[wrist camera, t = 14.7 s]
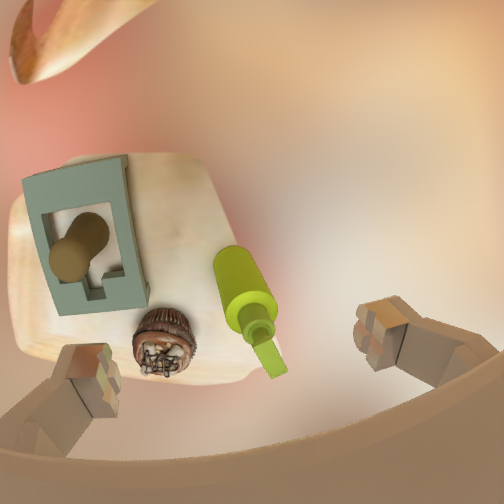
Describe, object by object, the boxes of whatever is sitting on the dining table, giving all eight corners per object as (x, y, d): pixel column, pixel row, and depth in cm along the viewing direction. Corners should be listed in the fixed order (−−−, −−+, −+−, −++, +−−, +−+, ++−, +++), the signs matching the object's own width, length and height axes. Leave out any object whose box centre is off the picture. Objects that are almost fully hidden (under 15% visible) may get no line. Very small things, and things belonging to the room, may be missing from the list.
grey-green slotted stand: (35, 173, 34) (21, 179, 30) (126, 154, 37) (120, 157, 33) (67, 300, 42) (59, 316, 38) (150, 290, 45) (147, 307, 41)
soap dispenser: (226, 293, 47) (254, 390, 29) (206, 256, 45) (225, 346, 26) (261, 277, 48) (308, 366, 30) (243, 239, 45) (286, 318, 27)
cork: (79, 257, 40) (55, 295, 30) (64, 219, 38) (33, 249, 28) (115, 246, 41) (97, 283, 31) (100, 206, 38) (76, 233, 29)
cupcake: (139, 350, 48) (134, 393, 39) (133, 301, 45) (124, 342, 36) (195, 350, 50) (199, 393, 41) (195, 302, 47) (199, 343, 38)
